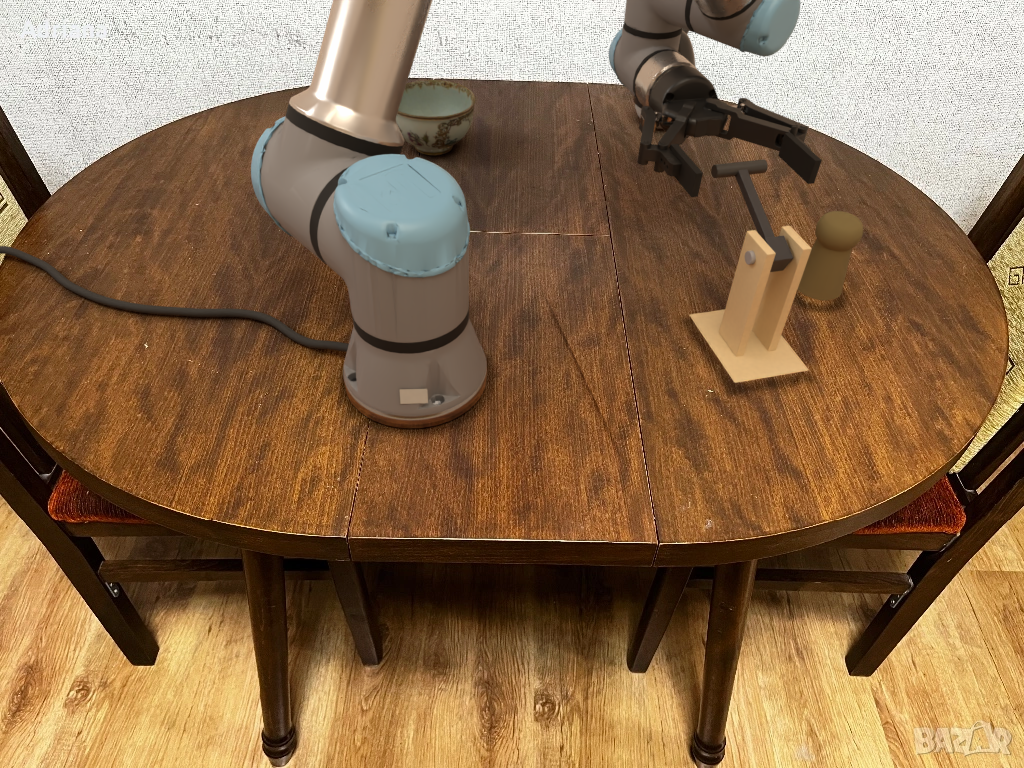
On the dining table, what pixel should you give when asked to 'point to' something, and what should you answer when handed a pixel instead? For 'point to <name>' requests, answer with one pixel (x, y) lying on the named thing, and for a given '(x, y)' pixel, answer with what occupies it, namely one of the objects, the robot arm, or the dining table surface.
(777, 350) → the bracket
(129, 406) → the dining table surface
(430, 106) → the bowl
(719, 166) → the lever
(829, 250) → the cork
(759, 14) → the robot arm
